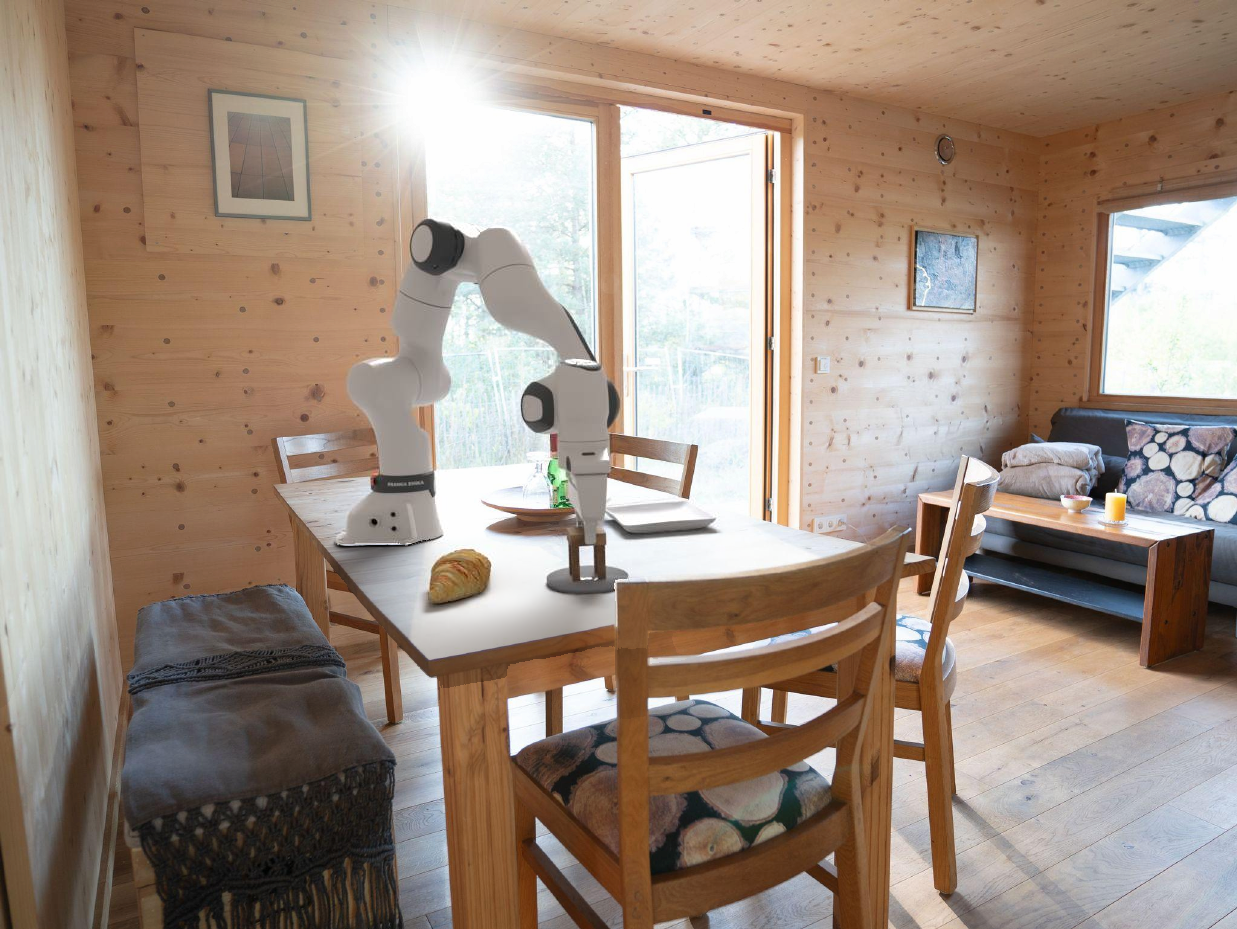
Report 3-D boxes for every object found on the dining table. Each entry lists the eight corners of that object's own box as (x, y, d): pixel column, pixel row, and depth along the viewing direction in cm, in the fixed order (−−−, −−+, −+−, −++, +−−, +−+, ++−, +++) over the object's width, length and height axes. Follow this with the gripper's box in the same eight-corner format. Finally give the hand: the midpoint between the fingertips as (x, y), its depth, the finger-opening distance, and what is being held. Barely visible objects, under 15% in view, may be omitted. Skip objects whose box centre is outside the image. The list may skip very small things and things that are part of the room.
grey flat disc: (550, 596, 131) (550, 590, 131) (543, 573, 144) (543, 568, 144) (635, 590, 133) (635, 584, 133) (620, 568, 147) (620, 563, 147)
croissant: (451, 630, 126) (471, 588, 124) (397, 599, 127) (416, 557, 125) (498, 588, 147) (516, 551, 145) (451, 562, 148) (468, 525, 146)
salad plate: (624, 539, 171) (624, 523, 170) (602, 520, 191) (601, 505, 191) (718, 532, 176) (718, 516, 175) (687, 513, 196) (686, 500, 196)
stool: (572, 582, 135) (570, 535, 134) (567, 572, 141) (566, 527, 140) (607, 579, 136) (606, 533, 135) (601, 570, 142) (600, 525, 141)
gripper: (558, 450, 145) (561, 525, 147) (572, 465, 125) (575, 552, 127) (593, 448, 146) (595, 523, 148) (612, 463, 126) (614, 549, 128)
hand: (586, 536), depth 138 cm, fingers open, 8 cm apart
